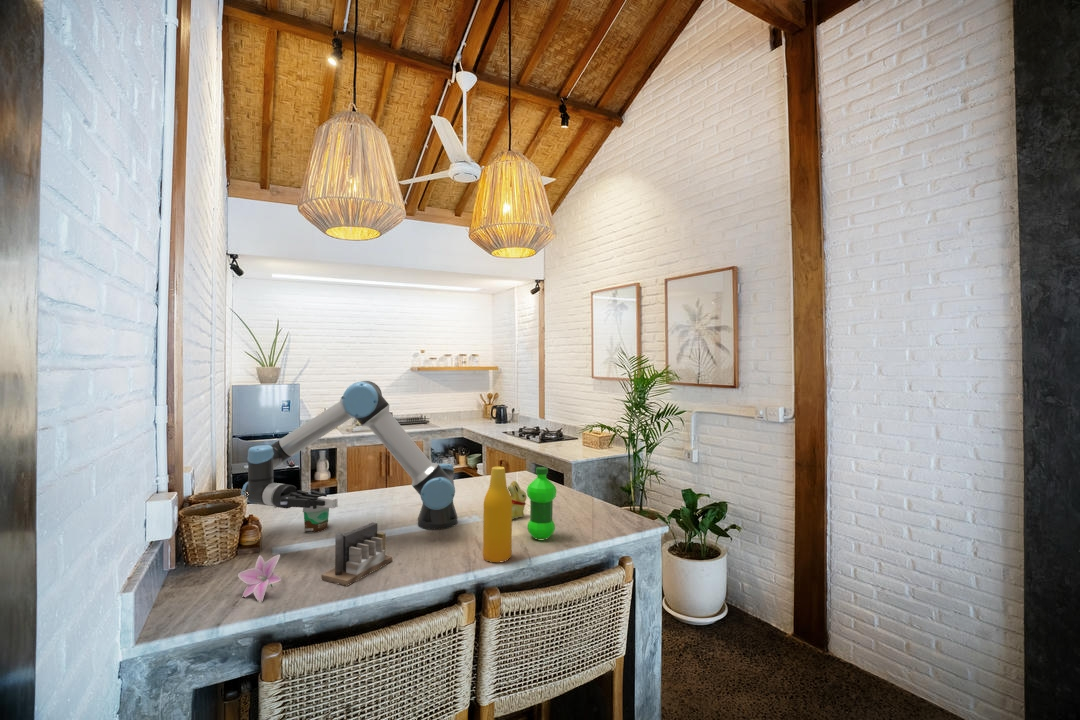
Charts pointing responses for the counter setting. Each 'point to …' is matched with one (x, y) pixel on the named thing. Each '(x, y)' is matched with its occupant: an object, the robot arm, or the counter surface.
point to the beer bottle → (497, 518)
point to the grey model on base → (357, 559)
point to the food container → (315, 518)
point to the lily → (260, 577)
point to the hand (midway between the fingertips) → (335, 503)
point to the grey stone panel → (357, 539)
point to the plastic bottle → (541, 505)
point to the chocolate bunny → (517, 500)
